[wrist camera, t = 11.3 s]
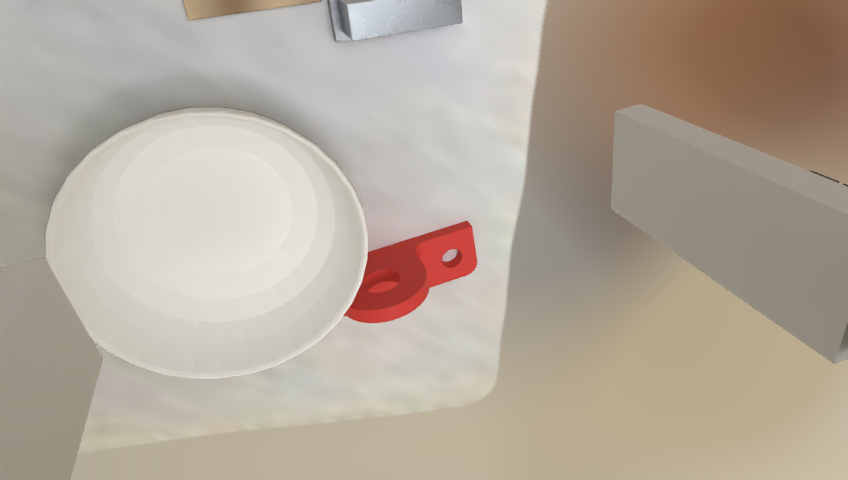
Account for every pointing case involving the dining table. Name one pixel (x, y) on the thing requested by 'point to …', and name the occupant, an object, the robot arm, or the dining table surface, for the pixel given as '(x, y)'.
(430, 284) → the bracket
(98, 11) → the dining table surface
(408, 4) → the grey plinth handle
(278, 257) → the bowl
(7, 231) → the dining table surface
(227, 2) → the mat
